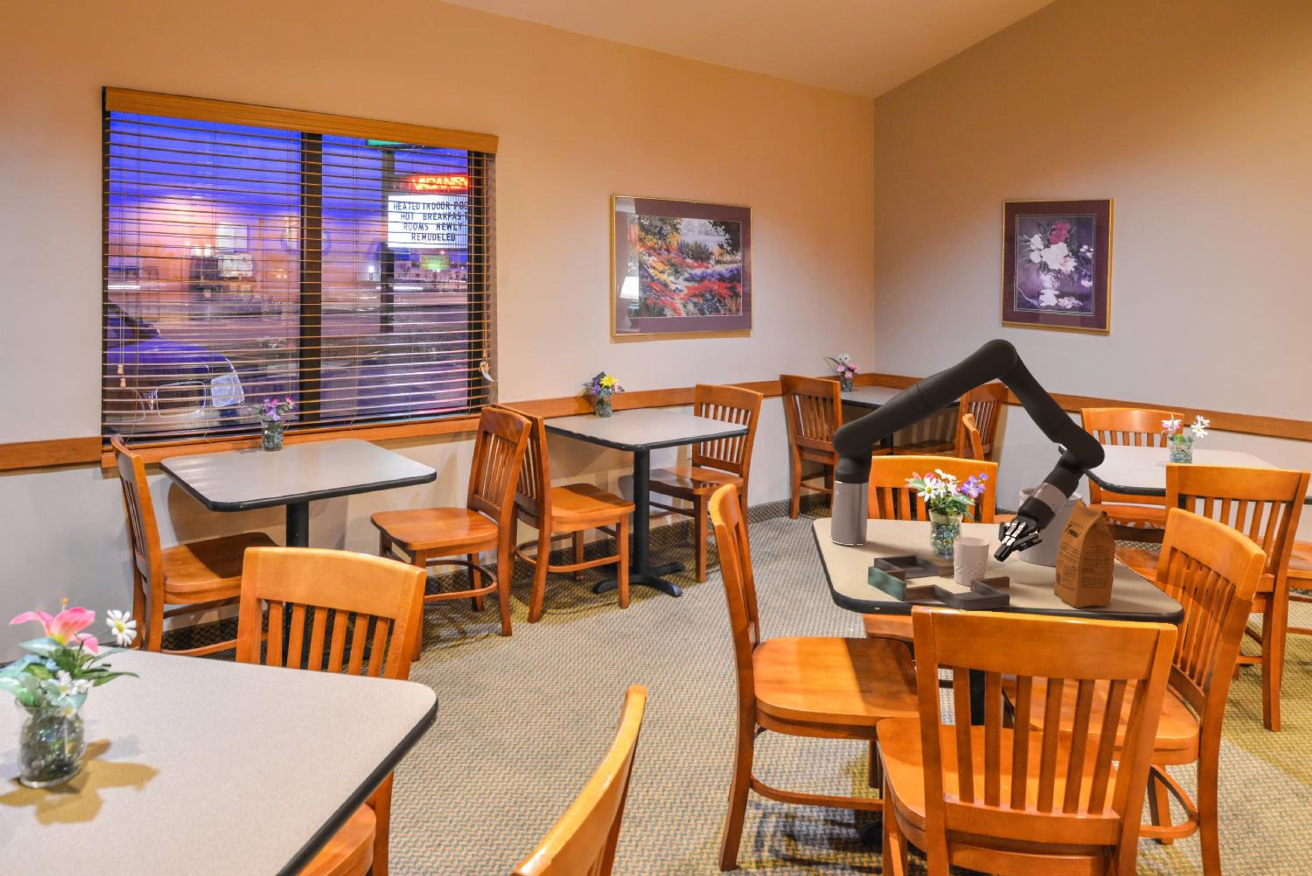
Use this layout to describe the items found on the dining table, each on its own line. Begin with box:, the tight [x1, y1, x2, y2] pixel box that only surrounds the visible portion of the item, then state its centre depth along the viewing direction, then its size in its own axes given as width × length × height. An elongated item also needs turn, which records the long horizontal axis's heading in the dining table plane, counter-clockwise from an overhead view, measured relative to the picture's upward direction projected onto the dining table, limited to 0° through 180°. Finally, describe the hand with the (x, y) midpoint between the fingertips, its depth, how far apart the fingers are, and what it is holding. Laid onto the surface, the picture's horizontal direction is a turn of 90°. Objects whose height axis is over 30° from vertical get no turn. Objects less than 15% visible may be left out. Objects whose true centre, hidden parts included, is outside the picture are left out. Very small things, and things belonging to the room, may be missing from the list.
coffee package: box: [1053, 499, 1116, 609], centre depth 202 cm, size 10×12×22 cm
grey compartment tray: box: [867, 553, 1011, 611], centre depth 213 cm, size 34×30×4 cm
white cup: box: [953, 536, 990, 587], centre depth 215 cm, size 8×8×10 cm
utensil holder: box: [1016, 486, 1083, 567], centre depth 235 cm, size 15×15×18 cm
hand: (997, 559), depth 218 cm, fingers closed
